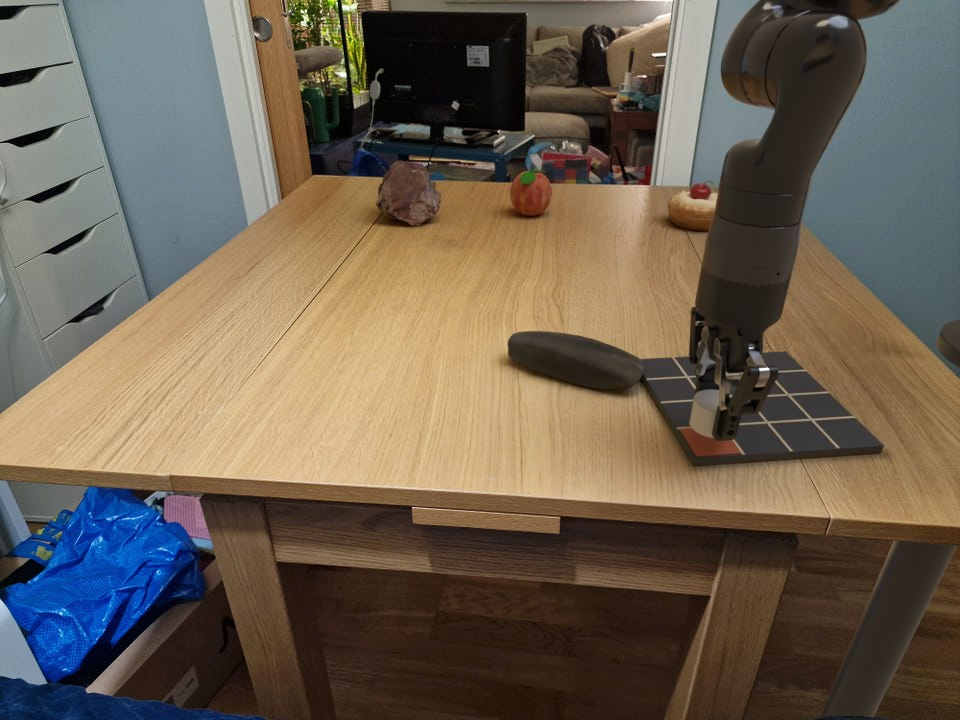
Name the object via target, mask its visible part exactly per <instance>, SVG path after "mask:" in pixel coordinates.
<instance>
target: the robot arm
mask: <svg viewBox="0 0 960 720" xmlns="http://www.w3.org/2000/svg"><path fill="white" fill-rule="evenodd" d="M901 1H902V0H757V1H756V3H754V5H753V6H751V8H750V9H749V10H747V12H745V14H744V16H742V18H740V20H739V21H738V23H737V24H736V26H735V27H734V29H733V30H732V32H731V34H730V35H729V37H728V40H727V42H726V44H725V46H724V49H723V52H722V56H721V62H720V78H721V83H722V86H723V88H724V90H725V91H726V92H727V93H728V95H729V96H730V97H731V98H732V99H734V100H736V101H737V102H740V103H742V104H745V105H747V106H748V105H749V106H754V107H757V108H758V107H759V108H764V109H769V110H773V111H774V112H773V114H772V115H773V116H772V118H771V120H770V122H769V124H768V126H767V128H766V129H765V131H764V133H763V135H762V137H758V138H757V137H756V138H749V139H743V140H741V141H738V142H736V143H734V144H733V145H732V146H731V147H729V149H728V151H727V152H726V154H725V157H724V160H723V164H722V167H721V171H720V172H721V173H720V179H719V183H718V189H717V193H718V194H717V199H716V205H715V211H714V215H713V218H712V222H711V225H710V227H709V230H707V233H706V238H705V242H704V243H705V244H704V249H703V255H702V260H701V267H700V271H699V277H698V282H697V289H696V294H695V300H694V306H692V307H691V309H690V321H689V322H690V325H689V347H688V357H689V362H690V363H691V364H696V367H695V371H694V372H695V376H696V378H698V379H697V383H696V388H695V394H696V393H697V392H699V391H702V390H709V389H713V390H719V406H718V407H717V411H716V416H715V421H714V425H713V430H712V436H713V437H714V439H715V440H716V441H728V440H733V439H735V438H736V436H737V433H738V429H739V424H740V420H741V416H742V415H748V414H758V413H759V411H760V409H761V407H762V406H763V404H764V402H765V400H766V398H767V396H768V394H769V392H770V390H771V388H772V387H773V385H774V383H775V381H776V379H777V377H778V368H777V366H776V365H767V366H766V364H765V362H764V360H763V359H762V357H761V354H762V353H764V333H765V332H766V331H767V330H768V329H769V328H770V327H772V326H773V325H775V324H776V323H778V322H779V321H780V319H781V318H782V315H783V310H784V306H785V303H786V299H787V295H788V291H789V288H790V284H791V279H792V275H793V271H794V267H795V264H796V261H797V260H796V259H797V255H798V251H799V247H800V246H799V245H800V240H801V239H800V238H801V227H802V223H803V218H804V214H805V210H806V206H807V202H808V198H809V194H810V191H811V187H812V181H813V177H814V173H815V171H816V169H817V167H818V166H819V164H820V162H821V160H822V158H823V156H824V154H825V153H826V151H827V150H828V148H829V146H830V144H831V142H832V140H833V138H834V136H835V134H836V133H837V130H838V129H839V127H840V125H841V124H842V121H843V120H844V118H845V116H846V114H847V112H848V110H849V109H850V107H851V105H852V104H853V102H854V100H855V98H856V96H857V94H858V91H859V90H860V88H861V85H862V82H863V80H864V77H865V73H866V68H867V63H868V43H867V42H868V41H867V37H866V33H865V30H864V29H863V26H862V25H861V23H860V22H859V21H861V20H866V19H871V18H874V17H877V16H881V15H884V14H885V13H887V12H889V11H890V10H892V9H893V8H894V7H896V6H897V5H898V4H899V3H900V2H901ZM743 371H744V372H743ZM726 372H728V373H735V372H740V376H726ZM731 387H736V389H735V391H734V394H733V396H732V397H730V388H731ZM695 394H694V396H695ZM749 400H750V401H749ZM692 405H693V404H692Z"/></svg>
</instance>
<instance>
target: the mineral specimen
mask: <svg viewBox="0 0 960 720" xmlns="http://www.w3.org/2000/svg"><path fill="white" fill-rule="evenodd" d="M436 187H437V183H436V182H435V181H433V180H432V179H431V178H430V172H429V170H428V168H426V167H425V164H423V163H419V162H414V161H411V162H410V161H409V160H405V161H404V160H397V161H396V163H395V164H391V165H390V167H389V170H388V171H386V172H385V174H384V175H383V178H382V182H381V183H379V185H378V190H377V195H378V196H377V200H376V201H375V206H376V207H377V209H378V210H379V211H380V212H381V213H382V214H384V215H385V216H386V217H387V218H389V219H393V220H399V221H403V222H406V223H407V224H408V225H410V226H413V227H414V226H417V227H420V226H421V225H422V223H423V222H425V221H426V220H427V219H430V218H433V217H435V216H436V214H437V213H439V211H440V208H441V206H440V204H441V203H442V200H441V198H442V193H441V192H440V191H438V190H437V189H436Z"/></svg>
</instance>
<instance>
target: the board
mask: <svg viewBox="0 0 960 720" xmlns="http://www.w3.org/2000/svg"><path fill="white" fill-rule="evenodd" d="M761 357H762V359H763V360H764V362H765V364H766V366H767V365H776V366H777V368H778V377H777V379H776V381H775V383H774V385H773V387H772V388H771V390H770V392H769V394H768V396H767V398H766V400H765V402H764V404H763V406H762V407H761V409H760V411H759V413H758V414H748V415H742V416H741V420H740V424H739V429H738V433H737V436H736V438H735V439H733V440H728V441H716V440H715V439H714V438H710V437H706V436H703V435H701V434H699V433H697V432H696V431H694V430H693V429H692V428H691V426H690V424H689V420H690V415H691V410H692V404H693V399H694V394H695V388H696V383H697V379H698V378H696V376H695V372H694V371H695V367H696V364H691V363H690V362H689V356H670V357H656V358H640V359H641V360H643V361H644V362H645V367H644V371H643V375H642V377H641V378H640V380H641V382H642V384H643V385H644V386H645V388H646V390H647V392H648V393H649V395H650V396H651V398H652V400H653V402H654V403H655V404H656V406H657V408H658V410H659V412H660V413H661V414H662V416H663V418H664V419H665V422H666V423H667V425H668V426H669V428H670V429H671V431H672V433H673V434H674V436H675V437H676V439H677V440H678V443H679V444H680V446H681V448H682V449H683V451H684V452H685V454H686V456H687V457H688V459H689V461H690V462H691V464H692V465H693V466H694V467H696V466H697V467H699V466H710V465H711V466H712V465H723V464H724V465H725V464H726V465H727V464H739V463H753V462H755V463H756V462H768V461H783V460H795V459H797V460H798V459H813V458H826V457H827V458H828V457H840V456H841V457H842V456H843V457H844V456H856V455H869V454H881V453H882V452H883V449H884V447H885V445H884V443H882V442H881V441H880V440H879V439H878V438H877V437H876V436H875V435H874V434H873V433H872V432H871V431H870V430H869V429H868V428H867V427H865V425H864V424H862V422H860V421H859V420H858V419H857V417H856V415H853V414H852V413H851V412H850V411H849V410H848V409H846V408H845V406H844V405H842V403H840V402H839V401H838V400H837V399H836V398H835V396H833V395H832V394H831V392H830V391H828V390H827V389H826V388H825V387H824V386H822V385H821V383H820V382H818V381H817V379H815V378H814V377H813V376H812V375H811V374H810V373H809V372H808V370H807V369H805V368H804V367H802V365H801V364H799V363H798V362H797V361H796V359H794V358H793V357H792V356H791V355H790V354H789V353H788V352H787V351H783V350H782V351H767V352H766V351H765V352H764V351H763V352H762V354H761ZM743 372H744V371H743ZM726 376H740V372H735V373H728V372H726ZM735 389H736V387H731V388H730V394H731V395H733V394H734V391H735ZM749 401H750V400H749Z"/></svg>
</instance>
